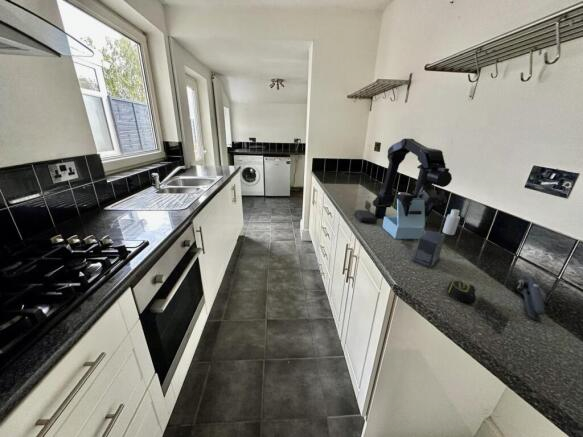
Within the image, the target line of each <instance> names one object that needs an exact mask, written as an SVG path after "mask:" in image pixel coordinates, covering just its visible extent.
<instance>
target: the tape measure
mask: <svg viewBox="0 0 583 437" xmlns="http://www.w3.org/2000/svg"><path fill="white" fill-rule="evenodd" d="M447 292H448V294H449V295H450V296H451V297H452V298H453V299H455V300H457V301H460V302H464V303H468V304H473V305H474V303H475V302H476V299H477V296H476V288H475V285H472V284H468V283H466V282H464V281H461V280H452V281H450V282H449V283H448V286H447Z"/></svg>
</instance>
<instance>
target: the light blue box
mask: <svg viewBox="0 0 583 437" xmlns="http://www.w3.org/2000/svg"><path fill="white" fill-rule="evenodd" d="M382 228H383V229H384V230H385V231H386V232H387V233H388V234H389V235H390V236H392V237H393V239H395V240H419V238H420V237H421V236H422V235H423V234H424V228H425V227H407V226H397V216H386V217H384V218H383V222H382Z"/></svg>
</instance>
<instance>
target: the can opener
mask: <svg viewBox="0 0 583 437" xmlns="http://www.w3.org/2000/svg"><path fill="white" fill-rule="evenodd" d="M517 283H519V284H518V285H517V286H516V287H515V290H516V291H517V292H518V293H519V294H521V295H522V296H523V299H524V306H525V310H526V312H527V315H528V317H529V318H530V319H531V320H533V321H539V318H540V316H544V315H545V314H546V309H545V308H546V307H545V303H546V302H547V293H546V291H545V290H544V289H543V288H541V287H540V286H539V285H538V283H537V281H536V278H534V277H532V276H526V277H524V278H523V279H521V278H520V279H519V280H518V281H517Z"/></svg>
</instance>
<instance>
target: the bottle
mask: <svg viewBox="0 0 583 437" xmlns="http://www.w3.org/2000/svg"><path fill="white" fill-rule="evenodd" d="M459 215H460V210H459V209H456V208H455V209H454V208H452V209H451V211H450V213H448V214H447V216H446V218H445V222H444V226H443V228H442V234H445V235H448V236H455V235H456V231H457V228H458V225H459V222H460V219H461V217H460V216H459Z"/></svg>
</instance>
